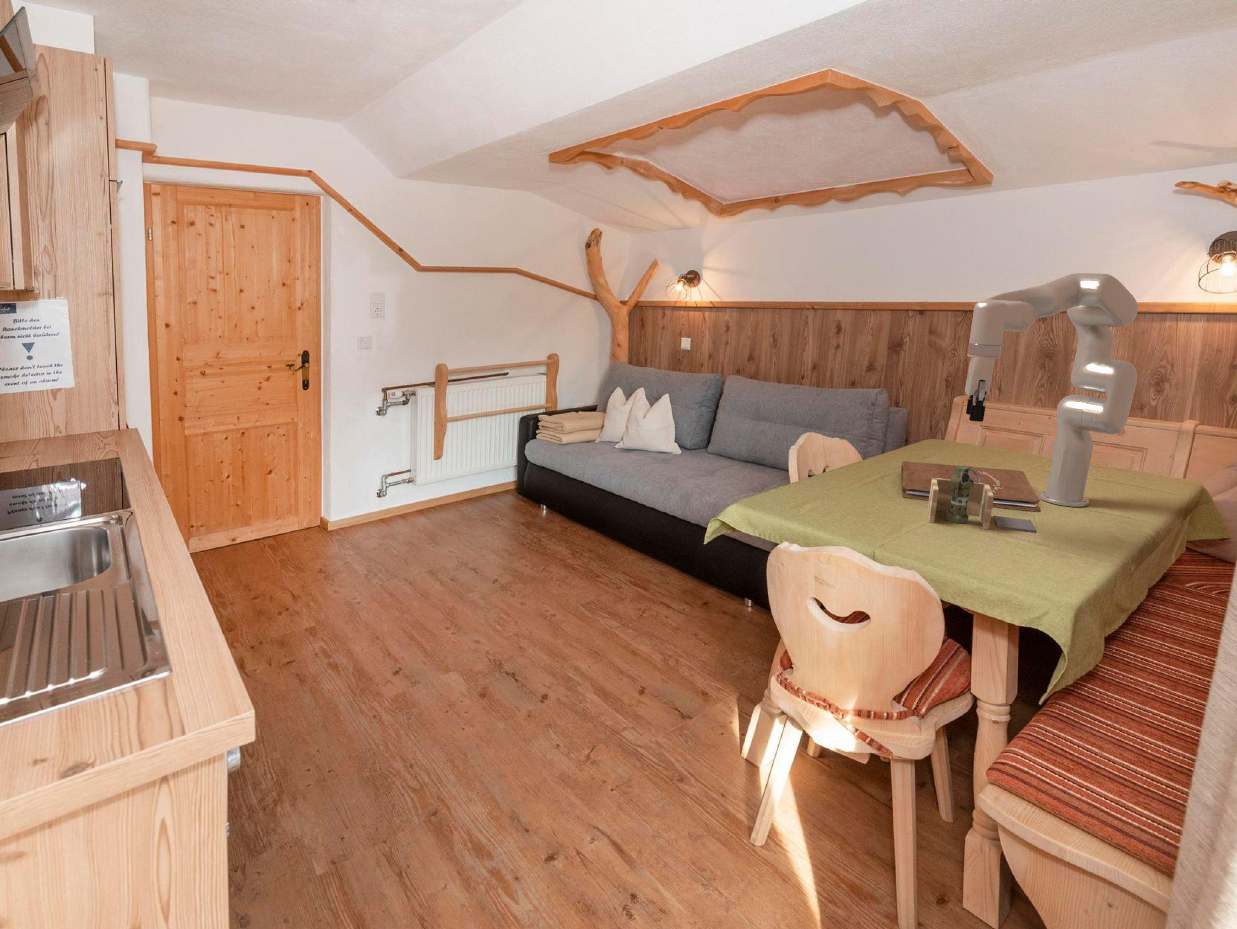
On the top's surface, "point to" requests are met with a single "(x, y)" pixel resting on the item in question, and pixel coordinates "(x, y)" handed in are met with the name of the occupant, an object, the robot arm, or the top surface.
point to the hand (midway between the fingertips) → (974, 417)
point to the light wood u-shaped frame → (977, 500)
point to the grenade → (960, 494)
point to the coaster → (1014, 524)
